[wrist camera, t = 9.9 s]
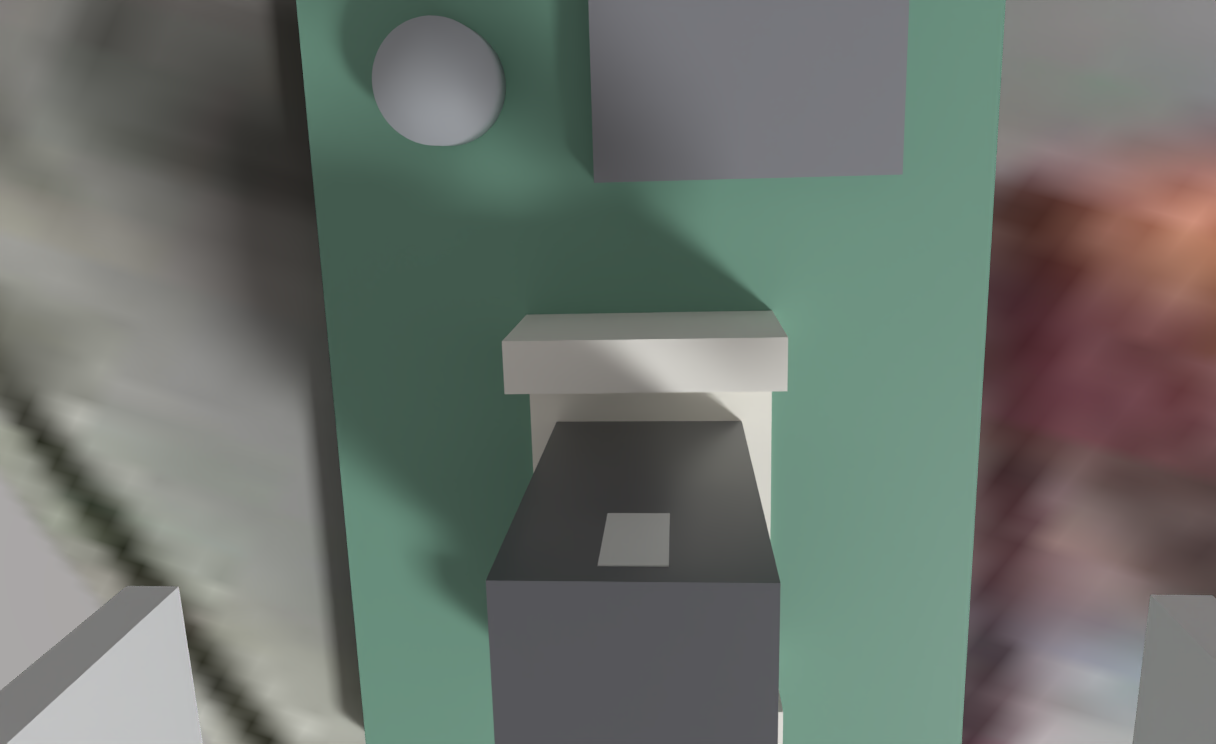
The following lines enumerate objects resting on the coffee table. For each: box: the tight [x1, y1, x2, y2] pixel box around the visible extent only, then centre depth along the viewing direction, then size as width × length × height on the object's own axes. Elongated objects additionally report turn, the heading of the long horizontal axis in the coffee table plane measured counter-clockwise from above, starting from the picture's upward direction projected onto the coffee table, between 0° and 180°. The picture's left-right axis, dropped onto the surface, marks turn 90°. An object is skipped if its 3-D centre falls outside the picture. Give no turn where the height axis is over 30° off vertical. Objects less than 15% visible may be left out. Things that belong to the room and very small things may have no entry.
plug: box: [486, 421, 781, 744], centre depth 17 cm, size 5×4×8 cm
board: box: [296, 0, 1006, 744], centre depth 20 cm, size 20×14×4 cm
